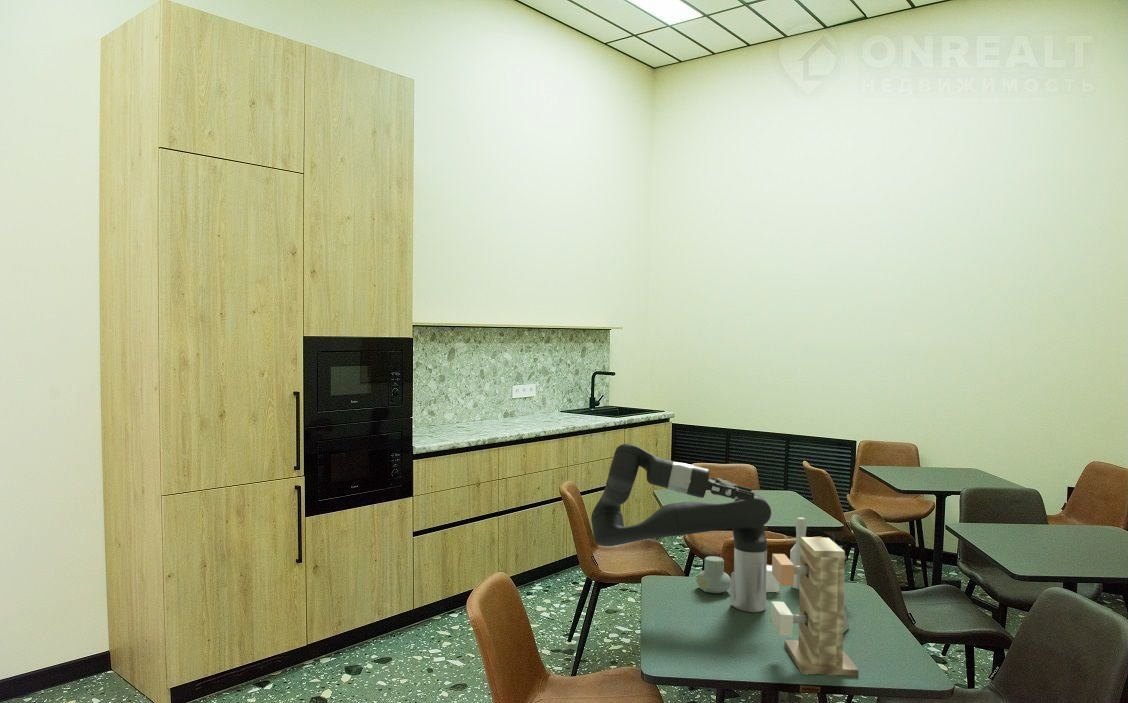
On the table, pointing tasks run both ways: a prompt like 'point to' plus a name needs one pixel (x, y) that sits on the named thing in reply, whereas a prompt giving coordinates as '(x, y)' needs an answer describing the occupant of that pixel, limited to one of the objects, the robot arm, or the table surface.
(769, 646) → the table surface
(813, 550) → the knob post
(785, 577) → the orange block
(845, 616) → the electrical switch
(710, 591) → the air freshener
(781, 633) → the lower knob
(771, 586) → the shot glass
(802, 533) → the low poly bottle
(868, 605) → the table surface
